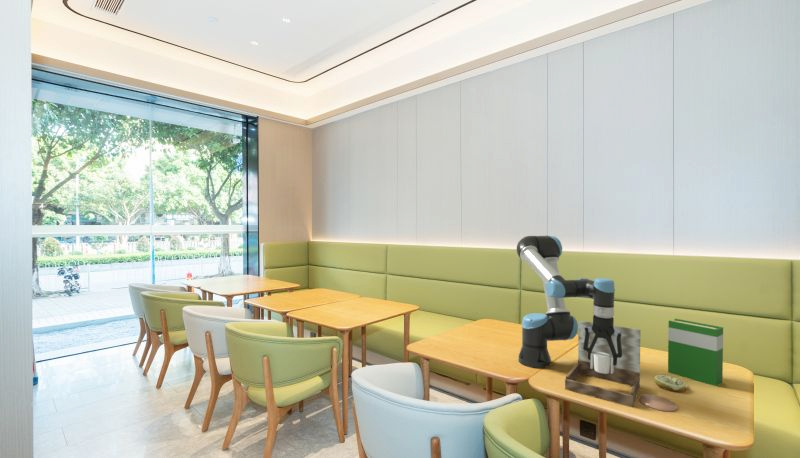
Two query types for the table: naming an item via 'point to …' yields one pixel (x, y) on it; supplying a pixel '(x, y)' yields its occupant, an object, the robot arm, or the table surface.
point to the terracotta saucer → (657, 402)
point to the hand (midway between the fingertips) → (601, 369)
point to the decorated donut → (670, 383)
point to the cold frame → (623, 371)
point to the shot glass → (602, 362)
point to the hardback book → (696, 351)
